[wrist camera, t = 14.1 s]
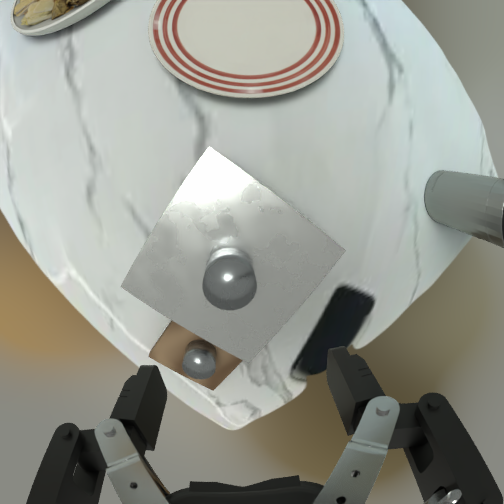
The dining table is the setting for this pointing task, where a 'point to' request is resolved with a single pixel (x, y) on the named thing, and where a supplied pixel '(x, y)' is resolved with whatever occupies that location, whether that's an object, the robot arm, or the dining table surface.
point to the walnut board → (173, 350)
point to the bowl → (50, 14)
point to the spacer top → (199, 359)
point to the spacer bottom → (229, 279)
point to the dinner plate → (246, 43)
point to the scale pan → (230, 236)
